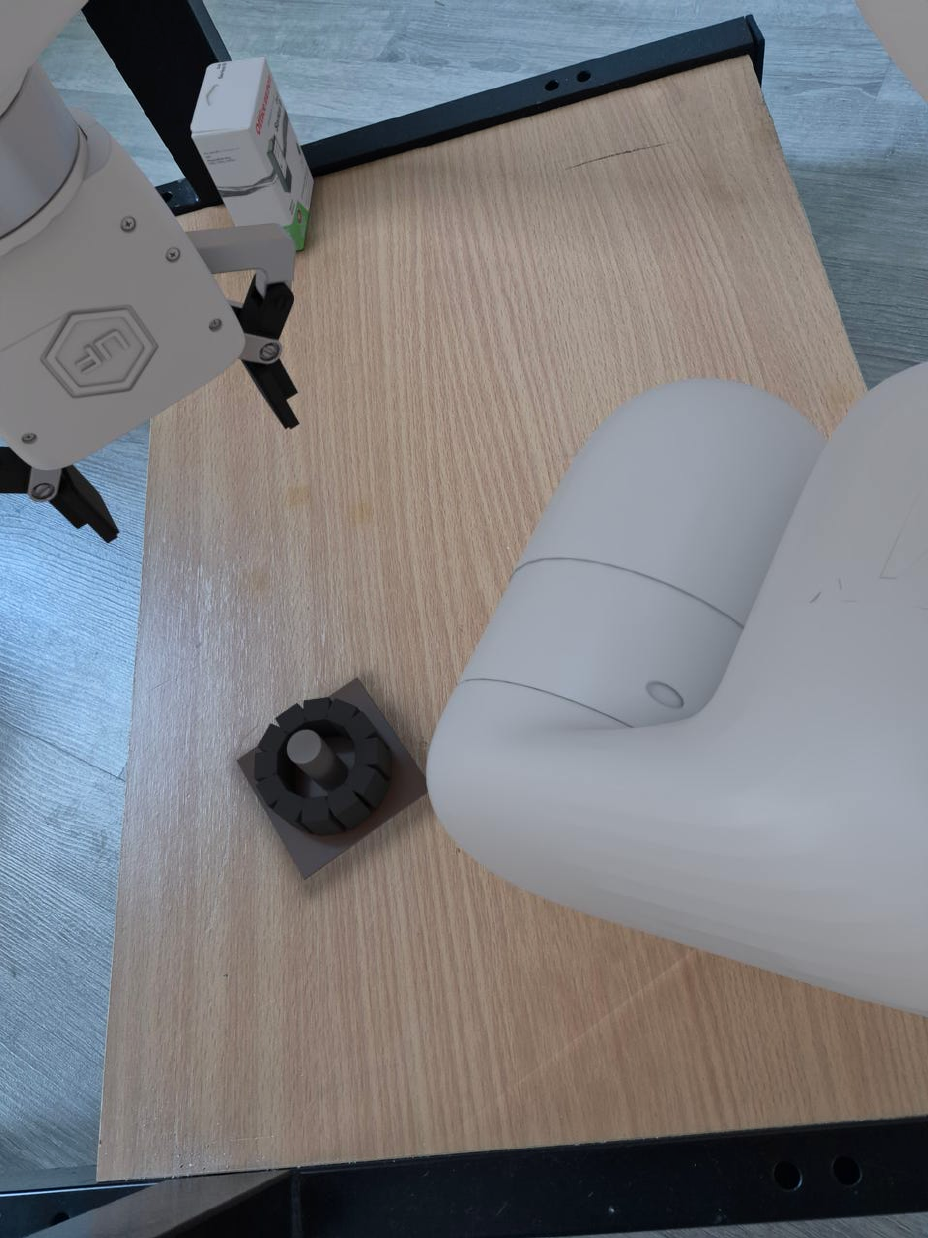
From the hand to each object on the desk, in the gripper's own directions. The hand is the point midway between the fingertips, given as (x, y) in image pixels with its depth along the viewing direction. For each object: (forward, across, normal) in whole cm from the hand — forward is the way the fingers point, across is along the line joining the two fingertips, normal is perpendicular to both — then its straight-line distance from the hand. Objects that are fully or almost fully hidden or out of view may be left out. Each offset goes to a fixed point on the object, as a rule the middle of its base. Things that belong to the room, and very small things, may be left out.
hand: (193, 463), depth 47 cm
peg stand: (+21, -4, -8) cm, 23 cm away
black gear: (+20, -4, -8) cm, 22 cm away
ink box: (+21, +15, +39) cm, 47 cm away
